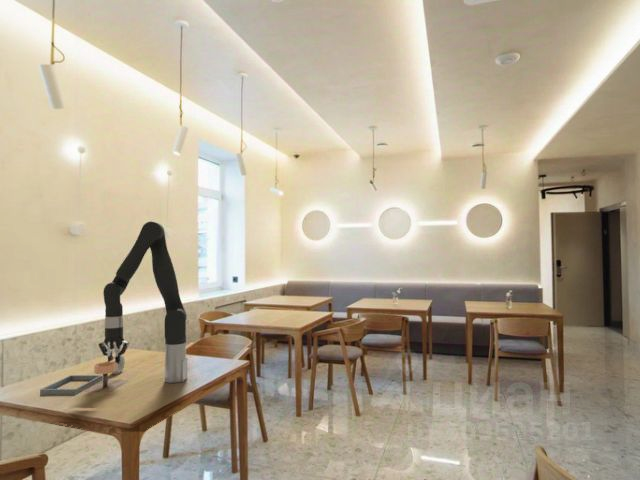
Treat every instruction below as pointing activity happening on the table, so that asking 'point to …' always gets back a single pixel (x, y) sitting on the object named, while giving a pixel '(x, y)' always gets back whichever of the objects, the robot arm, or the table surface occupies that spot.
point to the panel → (106, 385)
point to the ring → (106, 367)
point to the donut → (120, 364)
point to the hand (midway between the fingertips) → (114, 364)
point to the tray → (53, 387)
